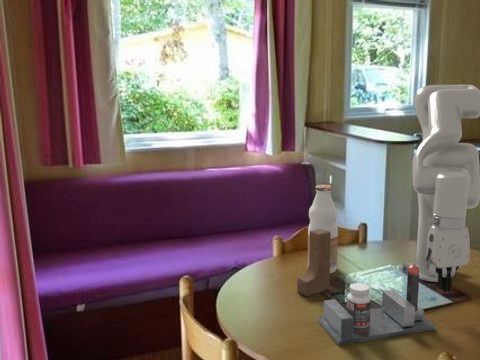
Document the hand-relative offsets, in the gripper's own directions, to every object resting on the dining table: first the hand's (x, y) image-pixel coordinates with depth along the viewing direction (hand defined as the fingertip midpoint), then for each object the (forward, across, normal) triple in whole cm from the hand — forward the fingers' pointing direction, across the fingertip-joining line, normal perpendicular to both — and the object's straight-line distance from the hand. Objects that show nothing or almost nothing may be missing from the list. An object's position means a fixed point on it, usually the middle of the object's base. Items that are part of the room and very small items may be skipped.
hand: (444, 289), depth 126 cm
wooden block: (+8, -26, +24) cm, 36 cm away
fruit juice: (+7, -17, +38) cm, 42 cm away
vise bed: (+7, -19, 0) cm, 21 cm away
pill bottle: (+6, -24, 0) cm, 25 cm away
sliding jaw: (+6, -11, 0) cm, 13 cm away
